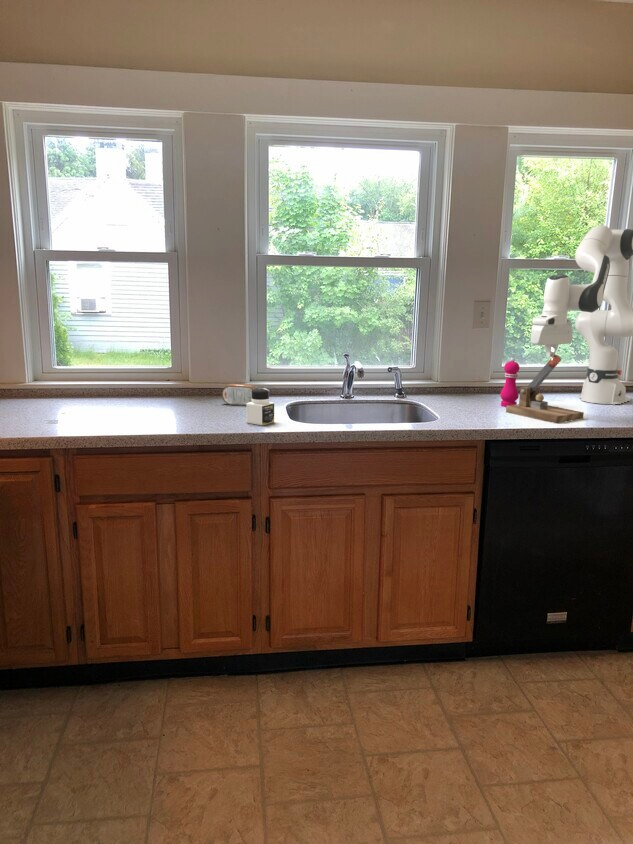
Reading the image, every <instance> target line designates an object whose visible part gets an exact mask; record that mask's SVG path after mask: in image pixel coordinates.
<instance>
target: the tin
mask: <svg viewBox="0 0 633 844" xmlns="http://www.w3.org/2000/svg"><path fill="white" fill-rule="evenodd" d="M253 389H257V387H256V386H254V385H252V384H241V383H228V384H227V385H225V387H223V389H222V390H221V398H222V400H223V401H224V403H226V405H230V406H243V407H244V406H245V407H246V404H247V403H250V402H253V401H252V390H253Z"/></svg>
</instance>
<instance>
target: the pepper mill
mask: <svg viewBox="0 0 633 844" xmlns="http://www.w3.org/2000/svg"><path fill="white" fill-rule="evenodd" d="M503 370H504V371H505V373H504V377H505V383H504V386H503V388H502V389H501V390H500V394H499V396H500V399H501V401H500V406H501V407H503V406H504V407H503V408H506V406H509V405H516V404H518V402H517V400H518V399H519V398H520V393H519V391H518V387H517V386H516V385H517V384H516V382H517V378H518V375H519V374H518V372H519V371H520V364H519V363H518V362H517V361H516V360H515V357H510V358H509V361H508V362H506V363H505V364H504V366H503Z"/></svg>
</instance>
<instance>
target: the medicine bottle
mask: <svg viewBox="0 0 633 844" xmlns="http://www.w3.org/2000/svg"><path fill="white" fill-rule="evenodd" d="M252 401H253V402H250V403H247V404H246V406H245V407H246V424H250V425H257V426H265V425H268V424H272V423H274V422H275V402H273V401H270V390H269V389H267V388H264V387H263V388H261V387H259V388H257V387H256V389H253V390H252Z"/></svg>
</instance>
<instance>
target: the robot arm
mask: <svg viewBox="0 0 633 844" xmlns="http://www.w3.org/2000/svg"><path fill="white" fill-rule="evenodd" d="M631 257H633V229H630V228H625V229H620V228H619V229H616V228H615V229H612V228H610V227H608V226H606V225H603V224H598V225H595V226H592V228H590V229H589V231H587V232H586V234H585V235H584V236H583V237H582V238H581V241H580V243H579V245H578V246H577V248H576V250H575V253H574V260H575V262H576V264H577V266H578V267H579V268H580V269H582V270H583V271H586V272H588V273H592V274H594V275H593V279H592V281H591V283H586V284H571V283H570V276H569V275H567V274H554V275H549V276H548V277H547V279H546V282H545V286H544V292H543V308H542V311H541V313H540V315H537V316H535V317H533V318H532V322H531V323H532V328H531V332H530V333H531V334H530V343H531V345H532V346H544V349H545V352H546V353H545V357H547V358H552V357H553V356H554V355H556V352H557V350H558V348H559V345H568V344H569V345H570V344H571V343H572V342H573V334H574V332H573V325H572V321H571V320H570V319H569V318H568V313H569V312H568V311H571V312H572V311H573V312H574V311H578V312H579V313H578V315H577V316H576V317H575V321H574V326H575V330H576V331H577V333H578V334H579V335H581V336H582V337H583V338H584V340H585V341H586V343H587V345H588V346H587V347H588V351H589V353H588V355H589V356H588V357H589V358H588V367H587V369H586V378H585V379H584V381H583V384H582V390H581V393H580V395H579V396H578V399H580V398H581V399H580V401H583V402H586V403H591V404H600V405H601V404H602V405H615V404H620V405H622V404H621V403H623V404H625V403H624V402H626V403H628V402H627V401H629V402H631V401H632V399H631V398H629V397H626V394H627V393H626V392H627V391H626V390H627V389H626V386H625V384H623V383H622V382H621V381H620V379H619V376H621V375H622V374H623V370H621V369H617V367H618V361H619V352H618V350H617V349H616V348H615V347H614V346H612V345H610V344H609V343H607V342H606V341H605V337H608V338H610V337H611V338H629V337H633V307H631V305H630V303H629V300H628V283H629V282H628V280H629V273H630V271H629V270H630V259H631ZM603 301H604V303H607V304H609V305H610V307H611V309H610V310H606V309H604V310H603V309H600V307H602V304H603ZM630 400H631V401H630Z"/></svg>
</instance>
